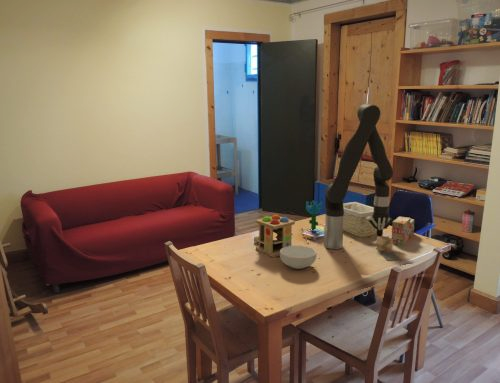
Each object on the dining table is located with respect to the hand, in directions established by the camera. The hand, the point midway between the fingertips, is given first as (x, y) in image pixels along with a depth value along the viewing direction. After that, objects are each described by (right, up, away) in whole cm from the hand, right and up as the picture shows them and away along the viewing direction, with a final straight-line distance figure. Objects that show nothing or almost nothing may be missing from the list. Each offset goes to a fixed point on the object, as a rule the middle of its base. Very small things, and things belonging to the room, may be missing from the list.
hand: (379, 236), depth 218 cm
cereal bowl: (-46, -11, -26) cm, 54 cm away
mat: (0, -8, -13) cm, 15 cm away
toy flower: (-31, 0, +22) cm, 39 cm away
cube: (0, -6, -7) cm, 9 cm away
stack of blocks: (+16, -3, +10) cm, 19 cm away
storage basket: (-6, 0, +24) cm, 25 cm away
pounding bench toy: (-58, -6, -2) cm, 58 cm away
